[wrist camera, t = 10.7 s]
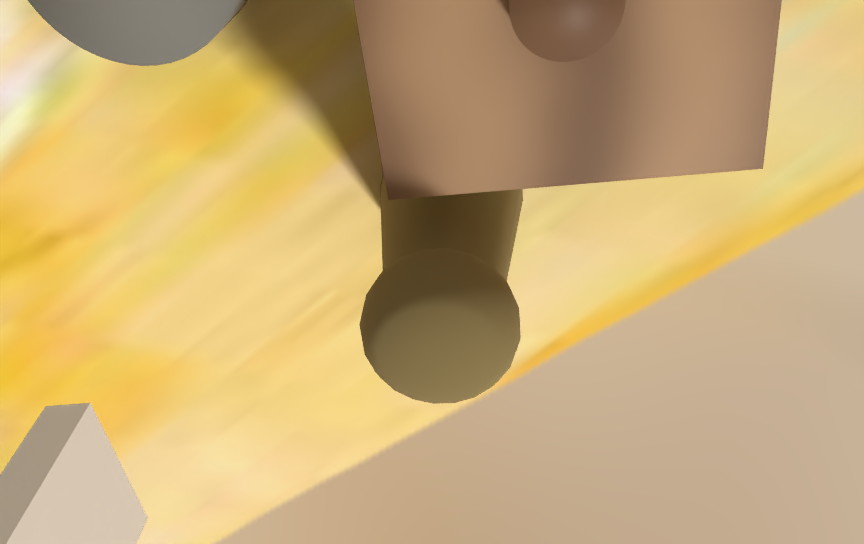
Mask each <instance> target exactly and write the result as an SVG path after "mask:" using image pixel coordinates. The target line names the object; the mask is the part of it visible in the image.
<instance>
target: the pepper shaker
mask: <svg viewBox="0 0 864 544" xmlns="http://www.w3.org/2000/svg"><path fill="white" fill-rule="evenodd" d="M380 194H381V227H382V260H383V272H382V273H381V274H380V275H379V277H378V278H377V280H376V281H375V283H374V284H373V286H372V287H371V289H370V290H369V292H368V293H367V295H366V299H365V303H364V307H363V312H362V316H361V321H360V329H361V335H362V341H363V347H364V352H365V355H366V357H367V359H368V360H369V362H370V364H371V365H372V367H373V369H374V370H375V372H376V373H377V374H378V375H379V377H380V378H381V379H383V380H384V381H385V382H386V383H387V384H388V385H389V386H391V387H392V388H393V389H394V390H395V391H397V392H399V393H401V394H404V395H406V396H408V397H410V398H412V399H415V400H420V401H424V402H429V403H456V402H459V401H463V400H467V399H470V398H474V397H476V396H477V395H479V394H481V393H482V392H484V391H486V390H487V389H489V388H491V387H492V386H493V385H494V384H495V383H497V382H498V380H499V379H500V378H501V377H502V376H503V375H504V374H505V372H506V371H507V370H508V369H509V368H510V366H511V363H512V361H513V358H514V355H515V352H516V350H517V347H518V344H519V341H520V317H519V307H518V305H517V303H516V300H515V298H514V296H513V294H512V291H511V289H510V287H509V285H508V283H507V276H508V271H509V266H510V261H511V256H512V251H513V246H514V241H515V236H516V231H517V226H518V221H519V216H520V211H521V206H522V201H523V193H522V189H514V190H502V191H490V192H478V193H467V194H455V195H443V196H431V197H419V198H407V199H395V200H388V196H387V190H386V184H385V178H384V173H383V178H382V183H381V187H380Z"/></svg>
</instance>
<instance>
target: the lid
mask: <svg viewBox="0 0 864 544" xmlns="http://www.w3.org/2000/svg"><path fill="white" fill-rule="evenodd" d="M781 1H782V0H353V2H354V7H355V13H356V19H357V24H358V30H359V36H360V41H361V47H362V53H363V59H364V64H365V70H366V76H367V81H368V87H369V93H370V99H371V104H372V110H373V116H374V121H375V127H376V133H377V138H378V144H379V150H380V156H381V161H382V167H383V173H384V178H385V184H386V190H387V196H388V200H395V199H407V198H419V197H431V196H443V195H455V194H467V193H478V192H490V191H502V190H514V189H526V188H538V187H550V186H562V185H574V184H586V183H597V182H609V181H621V180H633V179H645V178H657V177H669V176H681V175H693V174H705V173H716V172H728V171H740V170H752V169H763V163H764V154H765V145H766V136H767V127H768V118H769V109H770V100H771V91H772V82H773V73H774V64H775V55H776V46H777V37H778V28H779V19H780V10H781Z"/></svg>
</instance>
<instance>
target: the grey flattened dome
mask: <svg viewBox="0 0 864 544" xmlns="http://www.w3.org/2000/svg"><path fill="white" fill-rule="evenodd" d="M28 1H29V2H30V4H31V5H32V6H33V7H34V9H35V10H36V11H37V12H38V13H39V14H40V15H41V16H42V18H43V19H44V20H45V21H46V22H48V23H49V24H50V25H51V26H52V27H53V28H54V29H55V30H56V31H58V32H59V33H60V34H62V35H63V36H64V37H66V38H67V39H68V40H69V41H71V42H73V43H74V44H76V45H78V46H79V47H81V48H83V49H84V50H87V51H89V52H91V53H93V54H95V55H97V56H100V57H103V58H105V59H108V60H111V61H115V62H119V63H124V64H129V65H140V66H149V65H161V64H166V63H172V62H175V61H178V60H181V59H184V58H186V57H188V56H190V55H192V54H193V53H195V52H197V51H198V50H200V49H201V48H203V47H204V46H205V45H207V44H208V43H209V42H210V41H211V40H212V39H213V38H214V37H215V36H216V35H217V34H218V33H219V32H220V31H221V30H222V29H223V28H224V27H225V26H226V25H227V23H228V22H229V21H230V20H231V19H232V18H233V17H234V16H235V15H236V14H237V13H238V12H239V11H240V10H241V8H242V7H243V6H244V4H245V3H246V2H247V0H28Z"/></svg>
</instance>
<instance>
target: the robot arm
mask: <svg viewBox="0 0 864 544" xmlns="http://www.w3.org/2000/svg"><path fill="white" fill-rule="evenodd" d="M147 518H148V517H147V515H146V513H145V511H144V509H143V507H142V505H141V503H140V501H139V499H138V497H137V495H136V493H135V491H134V489H133V487H132V485H131V483H130V481H129V479H128V477H127V475H126V473H125V471H124V469H123V467H122V465H121V463H120V461H119V459H118V457H117V455H116V453H115V451H114V449H113V447H112V445H111V443H110V441H109V439H108V437H107V435H106V433H105V431H104V429H103V427H102V425H101V423H100V421H99V419H98V417H97V415H96V413H95V411H94V409H93V407H92V405H91V403H83V404H70V405H57V406H46V407H45V408H44V410H43V411H42V413H41V414H40V416H39V417H38V419H37V420H36V422H35V423H34V425H33V426H32V428H31V429H30V431H29V432H28V434H27V435H26V437H25V438H24V440H23V441H22V443H21V444H20V446H19V448H18V449H17V451H16V452H15V454H14V455H13V457H12V458H11V460H10V461H9V463H8V464H7V466H6V467H5V469H4V470H3V472H2V473H1V475H0V544H136V543H137V541H138V539H139V536H140V534H141V532H142V529H143V527H144V525H145V522H146V520H147Z"/></svg>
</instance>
